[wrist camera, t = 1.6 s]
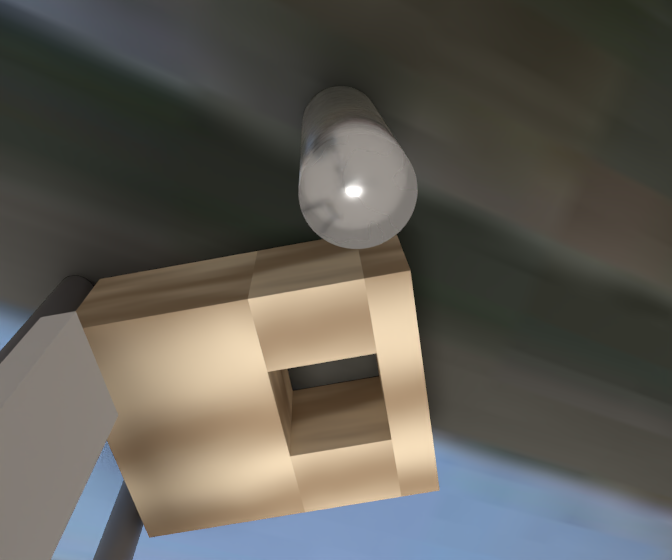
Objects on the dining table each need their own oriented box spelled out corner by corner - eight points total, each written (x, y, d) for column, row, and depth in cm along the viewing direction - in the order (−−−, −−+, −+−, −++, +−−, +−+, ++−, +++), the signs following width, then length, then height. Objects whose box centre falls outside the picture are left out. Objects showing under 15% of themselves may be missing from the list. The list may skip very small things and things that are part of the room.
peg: (295, 93, 30) (287, 145, 19) (372, 79, 30) (410, 123, 19) (310, 170, 32) (311, 258, 21) (383, 156, 32) (423, 238, 21)
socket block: (99, 279, 34) (59, 332, 28) (393, 226, 33) (410, 270, 28) (170, 464, 40) (149, 537, 34) (421, 422, 39) (439, 490, 34)
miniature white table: (50, 270, 33) (-252, 587, 15) (162, 250, 33) (-11, 548, 15) (139, 481, 40) (2, 872, 22) (232, 465, 40) (171, 848, 22)
